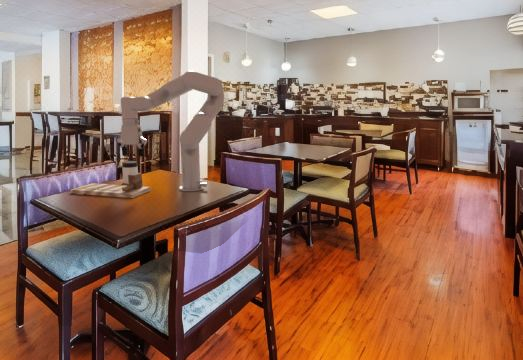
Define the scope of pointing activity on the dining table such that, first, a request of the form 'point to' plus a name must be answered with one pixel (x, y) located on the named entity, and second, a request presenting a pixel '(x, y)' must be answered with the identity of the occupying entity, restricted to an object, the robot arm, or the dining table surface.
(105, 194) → the board
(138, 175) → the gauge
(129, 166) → the jar
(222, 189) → the dining table surface
